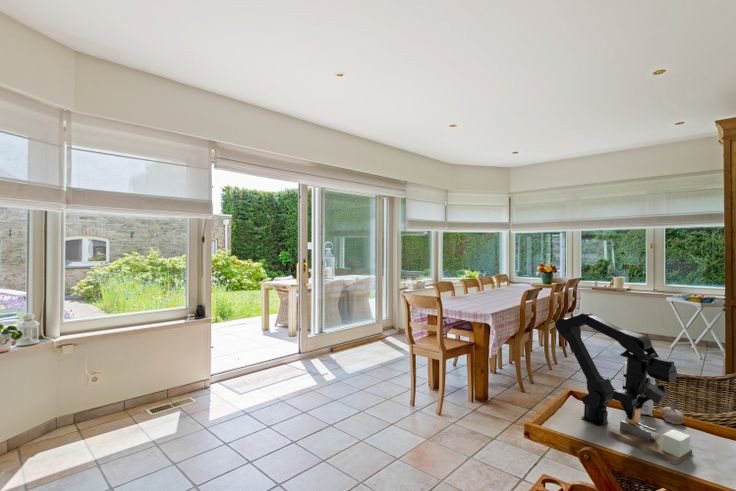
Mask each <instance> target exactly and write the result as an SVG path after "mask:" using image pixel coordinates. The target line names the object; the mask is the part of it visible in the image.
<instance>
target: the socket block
mask: <svg viewBox="0 0 736 491" xmlns="http://www.w3.org/2000/svg"><path fill="white" fill-rule="evenodd" d="M662 437H663V443H662V450H663V451H665V452H668V453H670V454H672V455H675V456H677V457H681V456H683V455H684V454H686V453H687V452H689V448H690V442H691V435H690V434H686V433H684V432H681V431H679V430H676V429H674V428H673V429H671V430H668V431H667V432H665V433H663V435H662Z"/></svg>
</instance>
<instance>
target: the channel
mask: <svg viewBox="0 0 736 491" xmlns="http://www.w3.org/2000/svg"><path fill="white" fill-rule="evenodd" d="M638 425H639V426H641V427H644V428H646V429H649V430H651V431H654V432H656V433H657V430H656V428H652V427H649V426H648V425H644V424H643V423H640V422H639V423H638ZM619 426H620V430H622V431H624V432H626V433H629V434H631V435H633V436H636V437H638V438H640V439H643V440H645V441H647V442H652V441H654V440H653V439H651V432H648V431H646V430H643V429H641V428H639V427H636V426H634V425H631V424H629V423H626V422H624V421H622V420H620V421H619Z"/></svg>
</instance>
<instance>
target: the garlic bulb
mask: <svg viewBox="0 0 736 491" xmlns="http://www.w3.org/2000/svg"><path fill="white" fill-rule="evenodd" d="M676 402H677V400H674V399H672V400H671V404H670V406H664V407H662V409H661V416H662V417H663V419H664V421H665V422H668V423H671V424H673V425H682V424H683V423H684V421H685V416H684V414H683V413H682V412H681V411H680V410H678V409H676Z"/></svg>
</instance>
